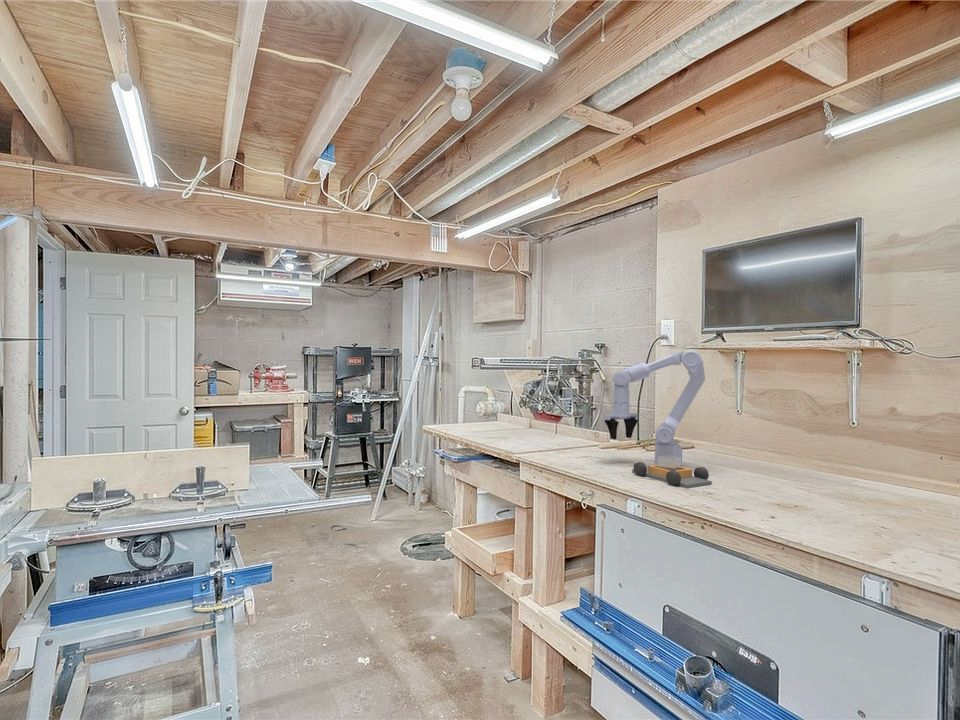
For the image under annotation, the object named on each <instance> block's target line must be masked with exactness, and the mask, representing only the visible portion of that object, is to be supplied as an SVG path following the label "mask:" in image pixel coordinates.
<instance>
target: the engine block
mask: <svg viewBox="0 0 960 720" xmlns="http://www.w3.org/2000/svg"><path fill="white" fill-rule="evenodd" d="M658 468H662V469H666V470H670V471H676V470H681V457H675V456H668V455H661V456H658Z"/></svg>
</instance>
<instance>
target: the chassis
mask: <svg viewBox="0 0 960 720" xmlns="http://www.w3.org/2000/svg"><path fill="white" fill-rule="evenodd" d="M650 465H651V466H649V465H648V466H646V464H645V463H644V462H642V461H638V462H635V463H634V464H633V469H632V470H631V473H632V474H635V475H636V476H638V477H639V476H640V477H641V476H643V477H646V478H650V479H654V480H656V481H661V482H664V483H667V484H669V486H677V487H680V488H681V487H682V488H685V489H690V488H697V487H703V486H711V485H712V484H713V483H712V482H713V481H711V480H708V479H709V477H710V473H709V471H708V469H707V468H705V467H704V466H698V467H695V468H694V470H693V469H692V468H688V467H685V466H683V467H681V470H676V471H670V470H666V469H662V468H658V465H652V464H650Z"/></svg>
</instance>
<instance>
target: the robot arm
mask: <svg viewBox="0 0 960 720" xmlns="http://www.w3.org/2000/svg"><path fill="white" fill-rule="evenodd" d="M681 363H682V365H683V367H685V369H686V370H687V373H688V375H689V380H688V381H687V383H686V385H685V387H684V388H683V390H682V392H681V394H680V395H679V397H678V398H677V400H676V401H675V404H674V405H673V407H672V409H671V410H670V412H669V414H668V415H667V417H666V418H665V421H664V422H663V423H661V424H660V425H659V426H658V427H657V429H656V431H655V436H654V437H655V438H656V440H654V464H648V466H651V465H658V456H661V455H668V456H675V457H681V467H684V466H683V448H682V446H681V444H679V443H677V441H675V440H674V438H675V435H676V429H677V428H678V427H679V424H680V423H681V421H682V419H684V415H685V414H686V413H687V411H688V410H689V407H690V406H691V404H692V403H693V401H694V399H695V397H696V396H697V394H698V392H699V390H700V389H701V388H702V387H703V384H704V382H705V381H706V376H705V366H704V360H703V359H702V356H701V355H700V353H699V352H698V351H696V350H694V349H689V350H686V351H683V352H682V351H681V352H677V353H672V354H670V355H667V356H665V357H662V358H660V359H657V360H656V361H653V362H650V363H646V362H643V361H642V362H639V361H638V362H636V363H635V365H631V366H629V367H623V370H618V371H616V372H615V373H614V374H613V376H612V381H613V382H614V383H613V384H614V385H613V412H612V413H609V414H608V413H607V414H604V423H605V424H606V427H607V429H608V432H609V436H610V439H612V440H617V435H618V434H617V430H618V427H619V421H618V420H623V422H624V426H625V437H626V438H629V439H631V438H632V437H633V436H632V435H633V433H634V430H635V427H636V426H637V423H638V422H639V419H638V413H636V412H630V383H634V382H638V381H641V380H643V379H645V378H649V377H650V374H651V373H652V372H654V371H657V370H660V369H664V368H665V367H669V366H672V365H673V366H682V365H681Z"/></svg>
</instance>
